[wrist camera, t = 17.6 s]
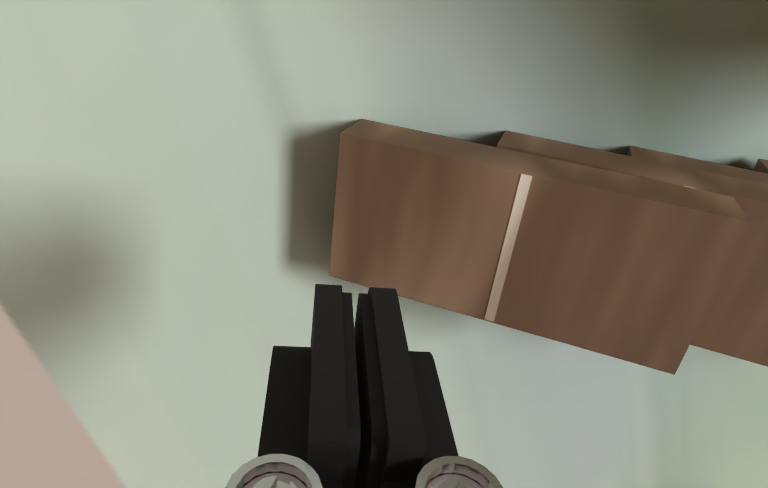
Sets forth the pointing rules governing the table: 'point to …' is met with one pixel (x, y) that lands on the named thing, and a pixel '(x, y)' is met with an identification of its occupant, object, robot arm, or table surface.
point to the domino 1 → (531, 241)
